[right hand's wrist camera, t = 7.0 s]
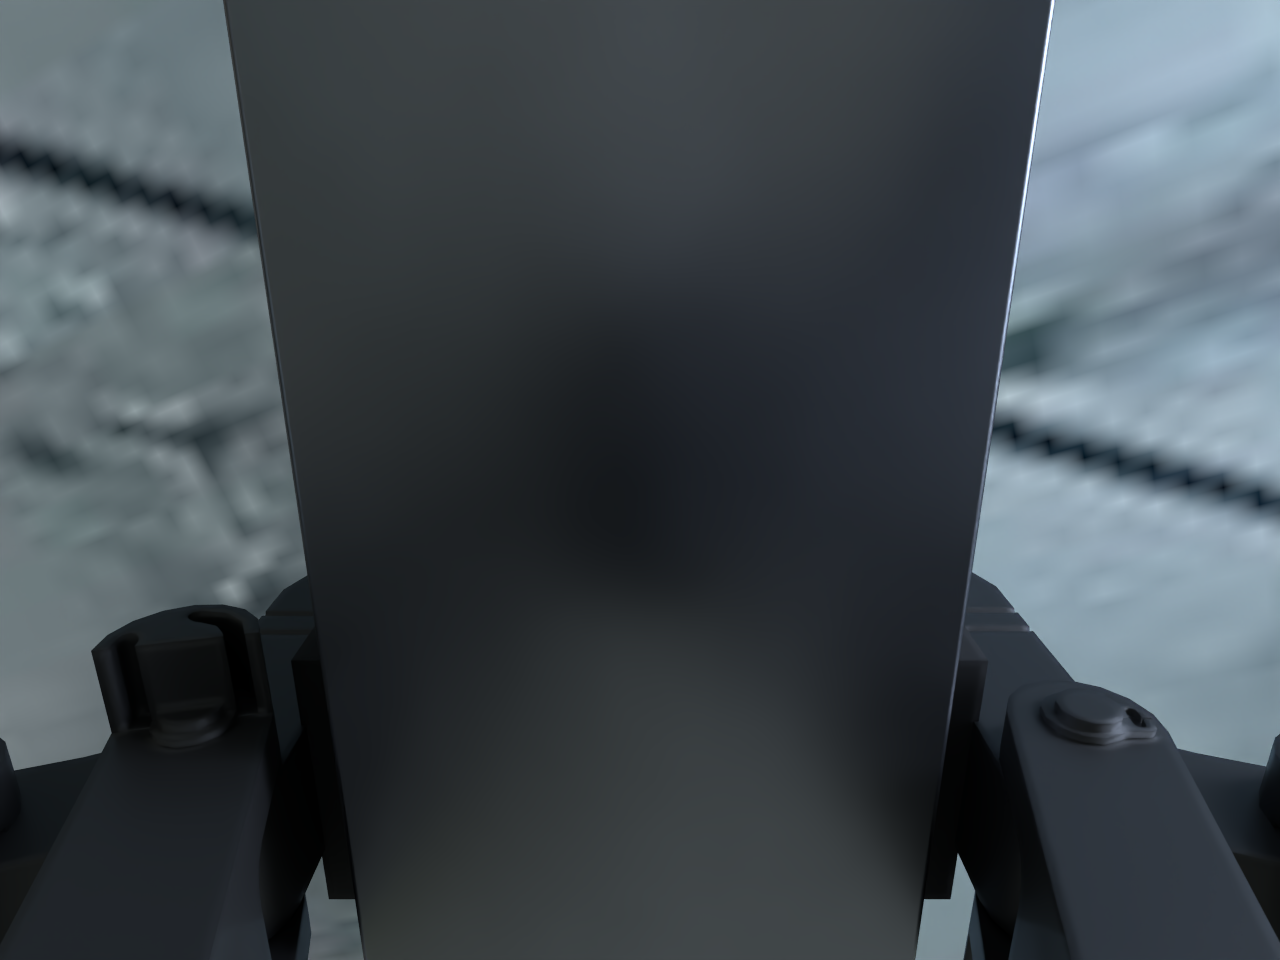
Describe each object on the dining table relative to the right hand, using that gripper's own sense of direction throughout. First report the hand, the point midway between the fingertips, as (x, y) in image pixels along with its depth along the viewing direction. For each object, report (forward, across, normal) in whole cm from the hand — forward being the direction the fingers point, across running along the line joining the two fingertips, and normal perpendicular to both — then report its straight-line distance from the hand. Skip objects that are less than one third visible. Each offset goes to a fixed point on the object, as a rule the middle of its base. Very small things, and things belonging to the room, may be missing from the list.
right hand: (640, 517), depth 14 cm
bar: (+1, 0, -10) cm, 10 cm away
